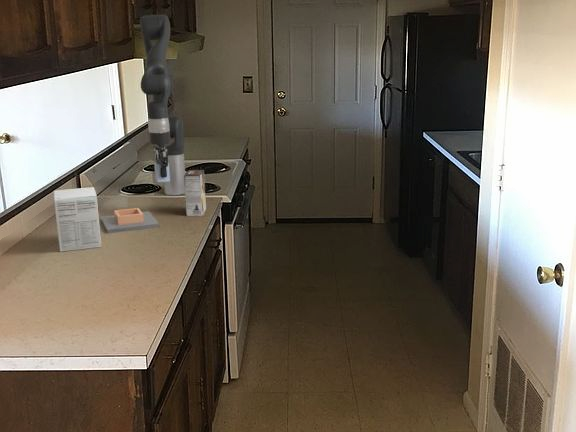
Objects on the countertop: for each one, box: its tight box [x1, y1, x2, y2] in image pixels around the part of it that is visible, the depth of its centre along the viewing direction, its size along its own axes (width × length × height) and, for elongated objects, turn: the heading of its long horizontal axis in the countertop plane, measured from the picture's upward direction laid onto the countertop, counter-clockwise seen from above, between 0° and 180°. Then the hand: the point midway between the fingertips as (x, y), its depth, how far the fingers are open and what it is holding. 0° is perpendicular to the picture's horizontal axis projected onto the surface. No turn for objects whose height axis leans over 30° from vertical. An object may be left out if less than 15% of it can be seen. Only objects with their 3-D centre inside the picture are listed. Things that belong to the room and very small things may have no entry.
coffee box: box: [184, 169, 207, 217], centre depth 247 cm, size 9×6×16 cm
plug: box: [153, 158, 170, 183], centre depth 241 cm, size 4×4×8 cm
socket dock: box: [100, 207, 160, 234], centre depth 237 cm, size 18×18×4 cm
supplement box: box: [53, 186, 102, 253], centre depth 213 cm, size 13×13×18 cm
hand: (162, 175), depth 242 cm, fingers closed on plug, 4 cm apart
